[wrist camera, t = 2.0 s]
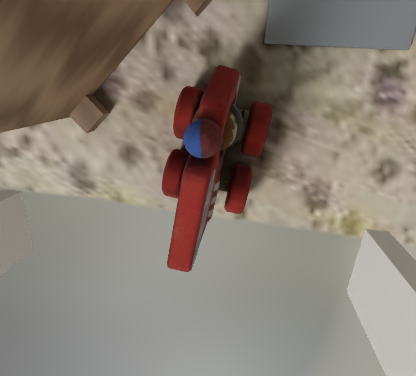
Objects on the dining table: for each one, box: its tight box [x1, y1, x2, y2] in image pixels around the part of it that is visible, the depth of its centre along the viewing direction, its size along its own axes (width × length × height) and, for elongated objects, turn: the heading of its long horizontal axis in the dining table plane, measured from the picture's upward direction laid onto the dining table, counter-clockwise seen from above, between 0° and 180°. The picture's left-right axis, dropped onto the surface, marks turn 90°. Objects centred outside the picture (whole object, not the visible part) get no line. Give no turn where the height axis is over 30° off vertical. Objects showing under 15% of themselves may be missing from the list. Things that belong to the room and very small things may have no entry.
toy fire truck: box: [162, 65, 272, 272], centre depth 19 cm, size 7×12×10 cm, turn 167°
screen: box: [0, 0, 212, 133], centre depth 15 cm, size 16×6×14 cm, turn 132°
